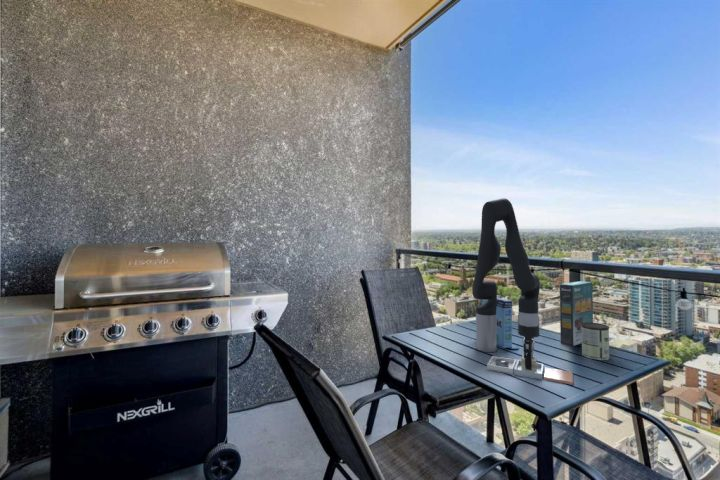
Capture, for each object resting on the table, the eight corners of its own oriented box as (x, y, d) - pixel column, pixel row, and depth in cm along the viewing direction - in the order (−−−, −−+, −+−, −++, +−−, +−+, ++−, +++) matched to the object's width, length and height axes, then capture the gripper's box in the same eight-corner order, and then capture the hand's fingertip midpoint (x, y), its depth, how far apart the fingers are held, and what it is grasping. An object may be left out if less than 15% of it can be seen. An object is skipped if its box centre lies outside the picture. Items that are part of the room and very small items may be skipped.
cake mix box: (580, 336, 183) (579, 281, 183) (593, 338, 177) (592, 282, 178) (560, 343, 170) (559, 284, 171) (573, 346, 165) (572, 285, 166)
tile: (545, 370, 135) (545, 367, 135) (572, 374, 130) (572, 371, 130) (544, 379, 125) (544, 377, 125) (573, 384, 121) (573, 382, 121)
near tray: (492, 360, 146) (492, 355, 146) (516, 364, 141) (516, 359, 141) (487, 369, 135) (487, 364, 135) (513, 374, 130) (512, 368, 130)
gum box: (481, 337, 182) (480, 295, 182) (489, 336, 183) (489, 294, 183) (503, 348, 163) (503, 301, 163) (513, 347, 164) (512, 300, 164)
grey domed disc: (496, 363, 141) (496, 358, 141) (509, 365, 139) (509, 360, 139) (494, 366, 137) (494, 361, 137) (507, 369, 135) (507, 364, 135)
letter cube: (522, 367, 136) (522, 354, 136) (536, 369, 134) (536, 356, 134) (521, 371, 132) (521, 358, 132) (535, 373, 129) (535, 360, 129)
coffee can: (583, 351, 158) (583, 321, 158) (611, 356, 151) (610, 324, 151) (579, 356, 150) (579, 325, 150) (607, 362, 143) (607, 329, 143)
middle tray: (517, 365, 140) (517, 359, 140) (543, 369, 135) (543, 363, 135) (514, 374, 130) (514, 369, 130) (542, 379, 125) (542, 373, 125)
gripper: (520, 318, 141) (520, 358, 141) (515, 326, 129) (516, 370, 129) (540, 320, 137) (540, 362, 137) (538, 328, 125) (538, 373, 125)
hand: (529, 365), depth 133 cm, fingers open, 5 cm apart
